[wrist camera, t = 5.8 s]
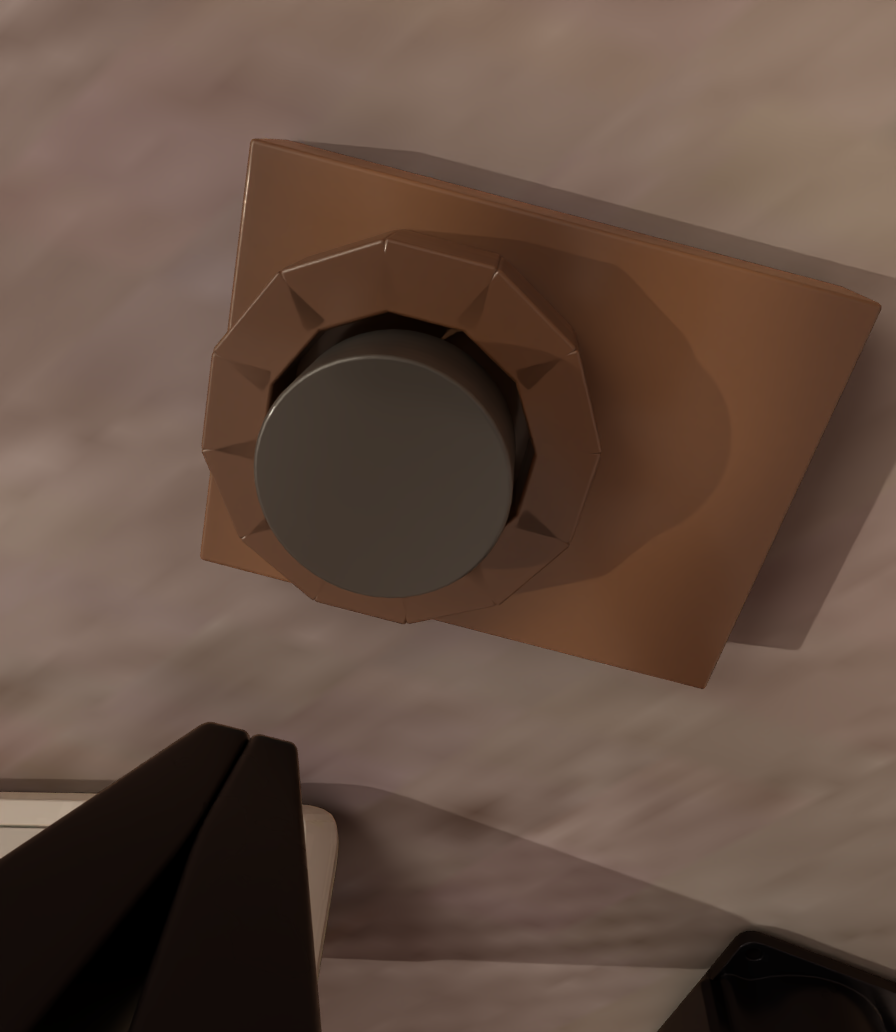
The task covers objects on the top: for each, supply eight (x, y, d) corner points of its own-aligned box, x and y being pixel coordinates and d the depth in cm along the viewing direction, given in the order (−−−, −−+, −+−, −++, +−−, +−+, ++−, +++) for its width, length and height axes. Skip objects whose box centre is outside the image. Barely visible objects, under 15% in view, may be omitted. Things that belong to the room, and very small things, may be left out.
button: (544, 363, 14) (545, 395, 13) (482, 572, 16) (476, 626, 14) (305, 300, 14) (271, 322, 13) (270, 517, 16) (236, 564, 14)
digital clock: (370, 790, 24) (256, 1230, 14) (346, 991, 28) (245, 1447, 18) (-163, 699, 24) (-622, 1061, 15) (-113, 908, 28) (-453, 1305, 18)
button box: (843, 286, 17) (928, 324, 13) (688, 639, 21) (721, 743, 17) (283, 138, 17) (213, 135, 13) (230, 520, 20) (165, 600, 17)
